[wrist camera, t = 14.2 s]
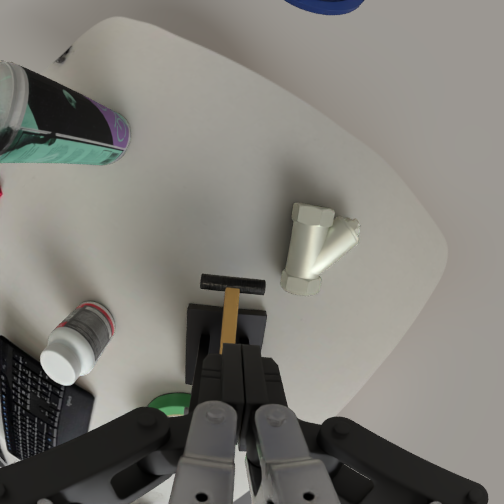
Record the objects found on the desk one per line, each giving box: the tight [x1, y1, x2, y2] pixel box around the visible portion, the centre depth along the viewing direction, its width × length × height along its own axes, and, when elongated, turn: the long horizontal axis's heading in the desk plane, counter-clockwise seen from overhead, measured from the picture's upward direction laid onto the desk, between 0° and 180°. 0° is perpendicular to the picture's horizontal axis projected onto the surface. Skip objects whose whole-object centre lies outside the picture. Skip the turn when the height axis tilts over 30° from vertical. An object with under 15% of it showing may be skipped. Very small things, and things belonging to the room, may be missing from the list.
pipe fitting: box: [280, 203, 360, 296], centre depth 27 cm, size 8×4×7 cm
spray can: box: [0, 61, 131, 165], centre depth 15 cm, size 6×6×20 cm
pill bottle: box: [40, 301, 115, 385], centre depth 25 cm, size 5×5×10 cm
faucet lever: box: [200, 274, 266, 354], centre depth 22 cm, size 13×5×2 cm, turn 173°
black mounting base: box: [184, 304, 267, 451], centre depth 25 cm, size 10×8×13 cm
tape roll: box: [148, 393, 191, 417], centre depth 32 cm, size 11×11×3 cm
